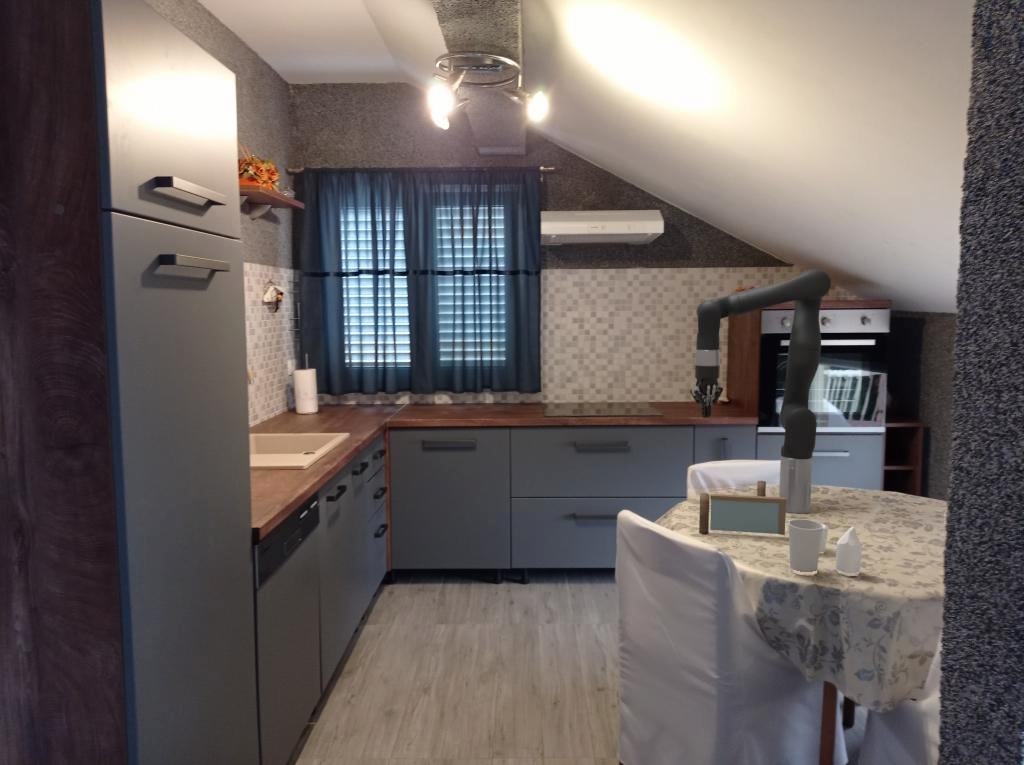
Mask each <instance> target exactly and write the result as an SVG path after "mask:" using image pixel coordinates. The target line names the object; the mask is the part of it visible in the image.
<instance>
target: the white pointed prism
mask: <svg viewBox="0 0 1024 765" xmlns="http://www.w3.org/2000/svg"><path fill="white" fill-rule="evenodd" d="M862 549H863V546H862V542H861V541H860V538H859V537H858V534H857V532H856V528H855V526H854V525H852V526H851V527H850V528H848V529H847V530H846V531H845V533H844V534H843V536H841V537H840V538H839V539H838V540H837V543H836V555H835V567H834V568H836V569H837V570H839V571H842V572H846V573H856V572H859V571H860V572H861V565H862V562H861V561H862V552H863V551H862ZM860 572H859V573H860Z"/></svg>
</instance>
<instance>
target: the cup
mask: <svg viewBox="0 0 1024 765" xmlns="http://www.w3.org/2000/svg"><path fill="white" fill-rule="evenodd" d="M821 523H822V522H819V521H815V520H812V519H804V518H794V519H790V520H789V521H788V522H787V530H788V545H789V569H790V568H791V569H793V570H796V571H800V572H813V571H816V570H817V571H818V566H819V557H820V554H819V551H820V543H821V538H822V531H823V525H822V524H821Z"/></svg>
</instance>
